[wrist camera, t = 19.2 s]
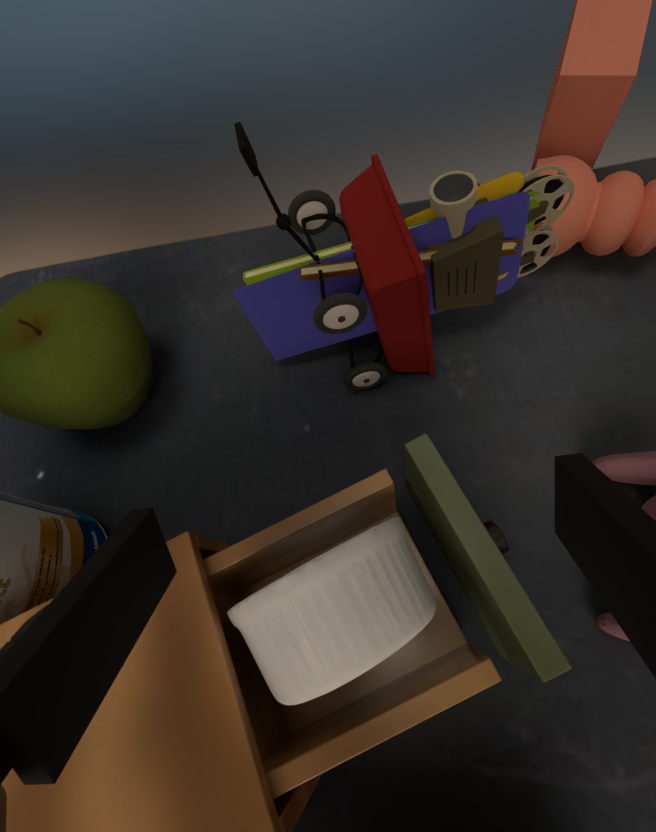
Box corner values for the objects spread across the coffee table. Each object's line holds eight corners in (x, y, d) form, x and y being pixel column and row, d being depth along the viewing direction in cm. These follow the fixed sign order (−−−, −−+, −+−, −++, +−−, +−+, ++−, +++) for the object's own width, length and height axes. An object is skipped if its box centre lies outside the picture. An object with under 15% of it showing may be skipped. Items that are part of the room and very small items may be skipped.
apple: (211, 382, 33) (135, 298, 24) (107, 484, 31) (-18, 436, 22) (133, 316, 37) (45, 224, 28) (38, 402, 35) (-90, 333, 26)
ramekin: (290, 677, 22) (255, 598, 24) (434, 592, 23) (393, 520, 24) (242, 755, 14) (192, 626, 15) (472, 619, 14) (405, 506, 16)
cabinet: (257, 552, 27) (187, 530, 19) (330, 758, 22) (281, 855, 14) (52, 655, 27) (-114, 680, 18) (80, 887, 22) (-130, 1069, 13)
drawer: (439, 468, 26) (449, 420, 19) (542, 636, 22) (603, 652, 15) (227, 574, 26) (161, 564, 19) (289, 767, 22) (232, 845, 15)
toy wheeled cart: (275, 322, 35) (518, 234, 32) (294, 420, 31) (573, 331, 28) (139, 115, 20) (576, -89, 17) (142, 255, 16) (715, 22, 13)
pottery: (588, -44, 28) (773, -56, 25) (550, 90, 37) (683, 92, 34) (528, 202, 25) (725, 219, 23) (503, 281, 34) (642, 299, 32)
